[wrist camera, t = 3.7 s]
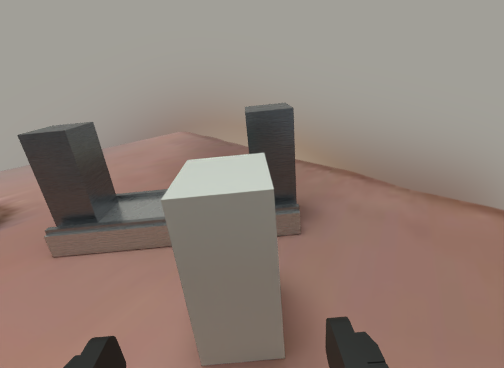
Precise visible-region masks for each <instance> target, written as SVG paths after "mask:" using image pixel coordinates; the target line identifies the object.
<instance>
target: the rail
mask: <svg viewBox="0 0 504 368" xmlns="http://www.w3.org/2000/svg"><path fill="white" fill-rule="evenodd" d="M293 114H294V113H293V107H291V106H289V105H288V104H286V103H281V104H280V103H279V104H269V105H259V106H249V107H245V115H246V126H247V136H248V146H249V154H256V153H264V154H265V158H266V161H267V165H268V169H269V173H270V177H271V180H272V184H273V188H274V199H275V214H276V229H277V236H284V235H295V234H301V230H300V211H299V205H298V204H296V176H295V145H294V115H293ZM18 138H19V140H20V142H21V144H22V147H23V149H24V151H25V154H26V156H27V158H28V161H29V163H30V165H31V168H32V170H33V172H34V175H35V177H36V179H37V182H38V184H39V186H40V189H41V191H42V193H43V196H44V198H45V200H46V203H47V205H48V207H49V210H50V212H51V214H52V217H53V219H54V221H55V224H56V226H57V227H50V228H48V229H46V230H45V232H46V236H45V237H44V238H45V241H46V243H47V245H48V247H49V249H50V252H51V254H52V256H53V257H61V256H72V255H82V254H93V253H104V252H114V251H125V250H135V249H146V248H157V247H167V246H172V244H171V240H170V236H169V232H168V228H167V224H166V220H165V215H164V211H163V207H162V203H161V199H162V197H163V196H164V194H165V193H166V191H167V190H168V189H164V190H154V191H143V192H133V193H123V194H116V193H115V190H114V187H113V184H112V181H111V178H110V174H109V171H108V168H107V165H106V162H105V159H104V155H103V152H102V149H101V146H100V143H99V140H98V136H97V133H96V131H95V127H94V124H93V122H87V123H76V124H67V125H56V126H50V127H46V128H43V129H39V130H35V131H31V132H28V133H23V134H20V135H18Z"/></svg>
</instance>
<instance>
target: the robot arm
mask: <svg viewBox="0 0 504 368" xmlns="http://www.w3.org/2000/svg"><path fill="white" fill-rule="evenodd" d="M326 354H327V359H328V364H329V367H330V368H389V367H388V365H387V364H386V362H385V359H384V357H383V355H382V353H381V351H380V349H379V347H378V345H377V344H376V343H375V342H374V341H373V340H372V339H371V338H370V336H369V335H368V334H367V333H366V332H357V333H355V332H354V330H353V328H352V325H351V323H350V321H349V319H348V318H347V317H336V318H327V319H326ZM64 368H126V361H125V359H124V356H123V354H122V351H121V349H120V346H119V344H118V341H117V339H116V337H115V336H106V337H95V338H92V339H90V340H89V342H88V343H87V345H86V346H85V348H84V350H83V351H82V353H81V355H77V356H74V357H73V358H72V359H71V360H70V361H69V362H68V363H67V364H66V365H65V366H64Z"/></svg>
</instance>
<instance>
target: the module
mask: <svg viewBox="0 0 504 368" xmlns="http://www.w3.org/2000/svg"><path fill="white" fill-rule="evenodd" d="M161 203H162V207H163V211H164V215H165V220H166V224H167V228H168V232H169V236H170V240H171V244H172V248H173V252H174V256H175V260H176V264H177V268H178V272H179V276H180V280H181V284H182V289H183V293H184V297H185V301H186V305H187V309H188V313H189V317H190V321H191V325H192V329H193V333H194V337H195V341H196V345H197V349H198V353H199V357H200V362H201V366H206V365H217V364H228V363H239V362H250V361H261V360H272V359H283V358H285V349H284V334H283V319H282V304H281V289H280V274H279V259H278V244H277V229H276V214H275V199H274V188H273V184H272V180H271V177H270V173H269V169H268V165H267V161H266V158H265V154H264V153H256V154H246V155H235V156H225V157H215V158H205V159H194V160H187V162H186V163H185V165H184V166H183V168H182V169H181V171H180V172H179V174H178V175H177V177H176V178H175V180H174V181H173V182H172V184H171V185H170V187H169V188H168V190H167V191H166V193H165V194H164V196H163V197H162V199H161Z"/></svg>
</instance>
